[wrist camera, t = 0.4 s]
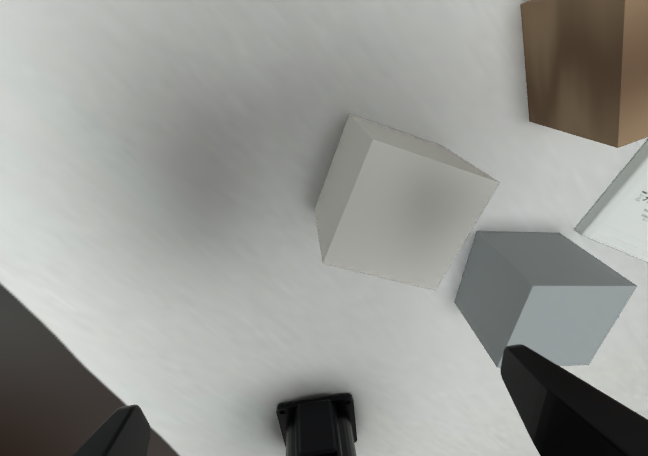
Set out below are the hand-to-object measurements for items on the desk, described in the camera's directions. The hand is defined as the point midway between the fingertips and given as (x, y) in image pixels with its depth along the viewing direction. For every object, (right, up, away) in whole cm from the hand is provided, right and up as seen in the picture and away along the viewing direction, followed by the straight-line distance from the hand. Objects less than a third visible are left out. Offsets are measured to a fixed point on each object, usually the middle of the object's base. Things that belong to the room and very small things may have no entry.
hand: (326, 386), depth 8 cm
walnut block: (+13, +14, +10) cm, 21 cm away
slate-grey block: (+13, +1, +16) cm, 21 cm away
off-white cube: (+3, +7, +12) cm, 14 cm away
